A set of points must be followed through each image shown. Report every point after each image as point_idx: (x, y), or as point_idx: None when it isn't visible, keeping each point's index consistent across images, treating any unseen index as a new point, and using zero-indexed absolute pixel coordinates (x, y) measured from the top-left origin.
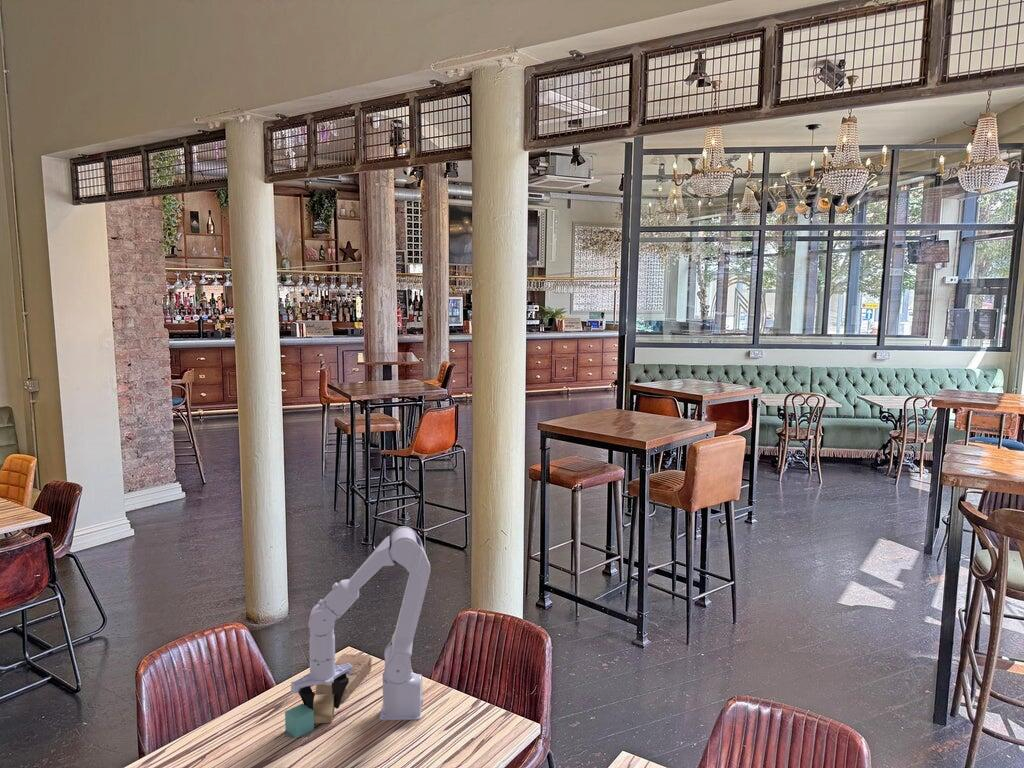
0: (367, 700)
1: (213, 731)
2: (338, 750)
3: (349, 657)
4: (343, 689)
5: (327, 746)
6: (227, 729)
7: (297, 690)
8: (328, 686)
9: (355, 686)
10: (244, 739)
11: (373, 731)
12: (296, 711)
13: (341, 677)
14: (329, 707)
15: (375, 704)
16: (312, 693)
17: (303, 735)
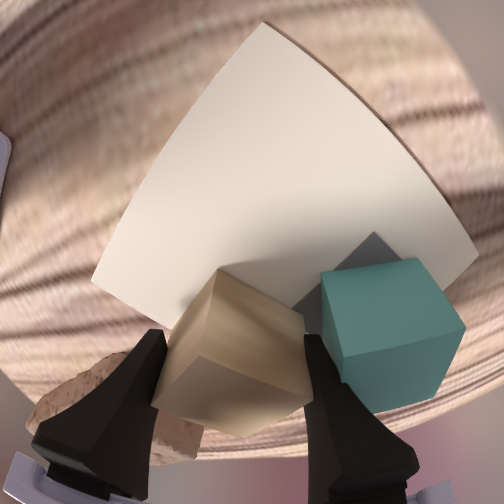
0: (41, 310)
1: (472, 393)
2: (309, 2)
3: None
4: (86, 404)
5: (344, 80)
6: (458, 392)
7: (436, 499)
8: (159, 436)
9: (72, 384)
10: (480, 345)
11: (60, 65)
12: (409, 383)
13: (78, 479)
14: (215, 340)
15: (17, 270)
16: (364, 479)
17: (388, 256)
